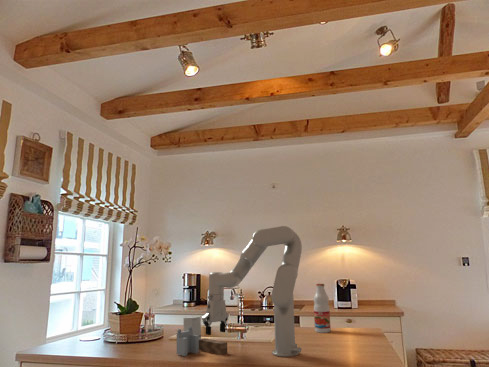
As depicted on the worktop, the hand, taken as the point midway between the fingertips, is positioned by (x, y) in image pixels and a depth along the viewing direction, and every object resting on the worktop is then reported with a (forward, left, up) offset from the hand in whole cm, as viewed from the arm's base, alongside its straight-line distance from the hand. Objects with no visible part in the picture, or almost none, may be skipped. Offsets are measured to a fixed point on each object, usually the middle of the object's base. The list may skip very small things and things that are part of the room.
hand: (215, 333), depth 200 cm
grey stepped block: (+10, +10, -9) cm, 16 cm away
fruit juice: (-14, -76, -9) cm, 78 cm away
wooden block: (+2, 0, -9) cm, 9 cm away
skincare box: (+21, -3, -9) cm, 23 cm away
